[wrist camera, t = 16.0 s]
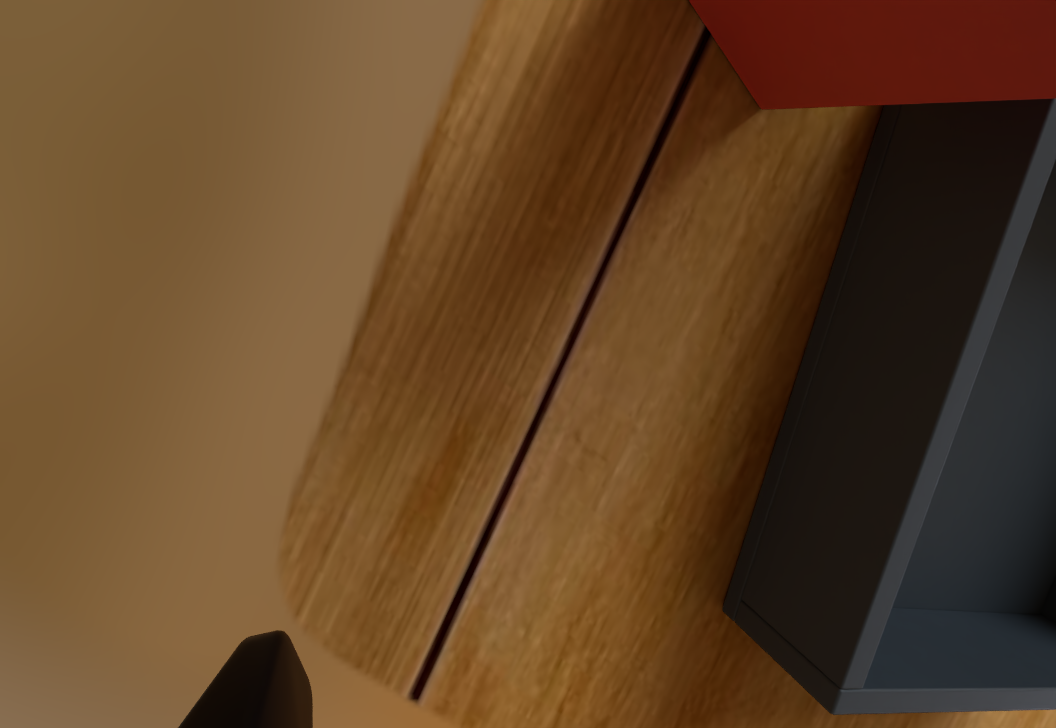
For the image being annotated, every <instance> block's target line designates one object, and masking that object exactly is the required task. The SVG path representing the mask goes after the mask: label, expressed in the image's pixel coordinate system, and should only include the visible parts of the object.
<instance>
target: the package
mask: <svg viewBox="0 0 1056 728" xmlns="http://www.w3.org/2000/svg"><path fill="white" fill-rule="evenodd" d="M689 1H690V3H691V5H692V6H693V8H694V9H695V11H696V12H697V14H698V15H699V17H700V18H701V20H702V21H703V23H704V24H705V26H706V27H707V29H708V30H709V32H710V33H711V35H712V36H713V38H714V39H715V41H716V42H717V44H718V45H719V47H720V48H721V50H722V51H723V53H724V54H725V56H726V57H727V59H728V60H729V62H730V63H731V65H732V66H733V68H734V69H735V71H736V72H737V74H738V75H739V77H740V78H741V80H742V81H743V83H744V84H745V86H746V87H747V89H748V90H749V92H750V93H751V95H752V97H753V98H754V100H755V101H756V103H757V104H758V106H759V107H760V108H761V109H762V110H763V109H790V108H816V107H843V106H869V105H895V104H922V103H948V102H975V101H1001V100H1027V99H1054V98H1056V0H689Z"/></svg>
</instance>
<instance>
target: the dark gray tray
mask: <svg viewBox="0 0 1056 728" xmlns="http://www.w3.org/2000/svg"><path fill="white" fill-rule="evenodd" d="M722 610H723V612H724V613H725V614H727V615H728V616H729V617H730V618H731V619H732V620H733V621H735V623H736V624H737V625H738V626H739V627H740V628H741V629H742V630H744V631H745V632H746V633H747V634H748V635H749V636H750V637H751V638H752V639H753V640H754V641H755V642H756V643H757V644H758V645H759V646H760V647H761V648H762V649H763V650H764V651H766V652H767V653H768V654H769V655H770V656H771V657H772V658H773V659H774V660H775V661H776V662H777V663H778V664H779V665H780V666H781V667H782V668H783V669H784V670H785V671H786V672H788V673H789V674H790V675H791V676H792V677H793V678H794V679H795V680H796V681H797V682H798V683H799V684H800V685H801V686H802V687H803V688H804V689H805V690H806V691H807V692H808V693H810V694H811V695H812V696H813V697H814V698H815V699H816V700H817V701H818V702H819V703H820V704H821V705H822V706H823V707H824V708H825V709H826V710H827V711H828V712H829V713H831V714H833V715H844V714H886V713H928V712H970V711H1012V710H1054V709H1056V98H1054V99H1027V100H1001V101H975V102H948V103H922V104H895V105H884V108H883V111H882V114H881V117H880V120H879V123H878V126H877V129H876V132H875V136H874V139H873V142H872V145H871V148H870V151H869V154H868V157H867V160H866V164H865V167H864V170H863V173H862V176H861V179H860V182H859V185H858V188H857V192H856V195H855V198H854V201H853V204H852V207H851V210H850V213H849V216H848V220H847V223H846V226H845V229H844V232H843V235H842V238H841V241H840V244H839V248H838V251H837V254H836V257H835V260H834V263H833V266H832V269H831V272H830V275H829V279H828V282H827V285H826V288H825V291H824V294H823V297H822V300H821V303H820V307H819V310H818V313H817V316H816V319H815V322H814V325H813V328H812V331H811V335H810V338H809V341H808V344H807V347H806V350H805V353H804V356H803V359H802V363H801V366H800V369H799V372H798V375H797V378H796V381H795V384H794V387H793V391H792V394H791V397H790V400H789V403H788V406H787V409H786V412H785V415H784V419H783V422H782V425H781V428H780V431H779V434H778V437H777V440H776V443H775V446H774V450H773V453H772V456H771V459H770V462H769V465H768V468H767V471H766V474H765V478H764V481H763V484H762V487H761V490H760V493H759V496H758V499H757V502H756V506H755V509H754V512H753V515H752V518H751V521H750V524H749V527H748V530H747V534H746V537H745V540H744V543H743V546H742V549H741V552H740V555H739V558H738V562H737V565H736V568H735V571H734V574H733V577H732V580H731V583H730V586H729V589H728V593H727V596H726V599H725V602H724V605H723V608H722Z"/></svg>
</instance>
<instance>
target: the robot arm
mask: <svg viewBox="0 0 1056 728" xmlns="http://www.w3.org/2000/svg"><path fill="white" fill-rule="evenodd" d="M312 724H313V723H312V692H311V686H310V682H309V679H308V677H307V674H306V672H305V670H304V668H303V666H302V664H301V661H300V659H299V657H298V655H297V652H296V650H295V648H294V646H293V644H292V642H291V639H290V638H289V636H288V635H287V634H286V633H285V632H284V631H273V632H268V633H263V634H259V635H255V636H250V637H248V638H246V639H245V640H243V641H242V642H241V643H240V645H239V646H238V647H237V648H236V650H235V651H234V652H233V654H232V655H231V657H230V658H229V659H228V661H227V662H226V663H225V665H224V666H223V667H222V669H221V670H220V672H219V673H218V674H217V676H216V677H215V678H214V680H213V681H212V683H211V684H210V685H209V687H208V688H207V689H206V691H205V692H204V693H203V695H202V696H201V697H200V699H199V700H198V701H197V703H196V704H195V706H194V707H193V708H192V710H191V711H190V712H189V714H188V715H187V716H186V718H185V719H184V721H183V722H182V723H181V725H180V726H179V727H178V728H312V727H313V725H312Z"/></svg>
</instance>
